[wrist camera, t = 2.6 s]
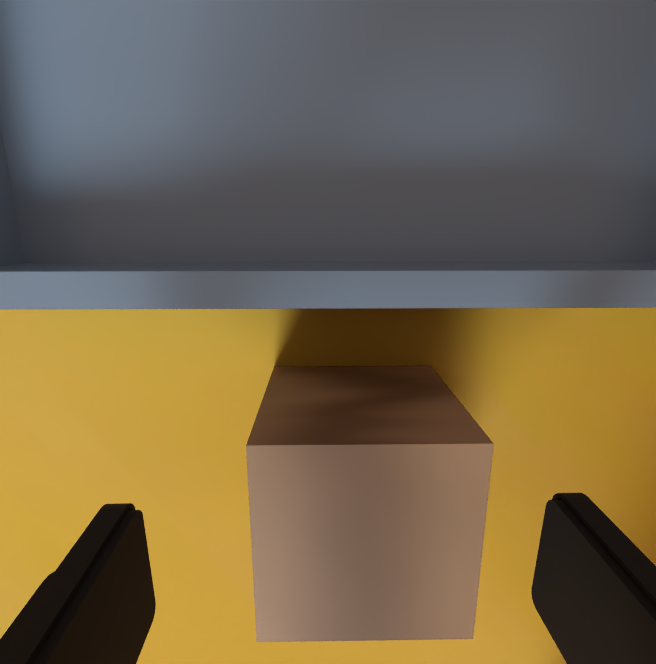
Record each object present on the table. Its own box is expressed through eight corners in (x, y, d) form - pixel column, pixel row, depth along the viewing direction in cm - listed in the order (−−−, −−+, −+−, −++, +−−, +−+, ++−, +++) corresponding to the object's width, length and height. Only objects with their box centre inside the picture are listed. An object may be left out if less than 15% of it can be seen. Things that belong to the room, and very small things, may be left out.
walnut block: (430, 365, 16) (493, 443, 10) (422, 501, 17) (472, 638, 11) (274, 366, 16) (246, 446, 10) (279, 502, 17) (256, 642, 11)
